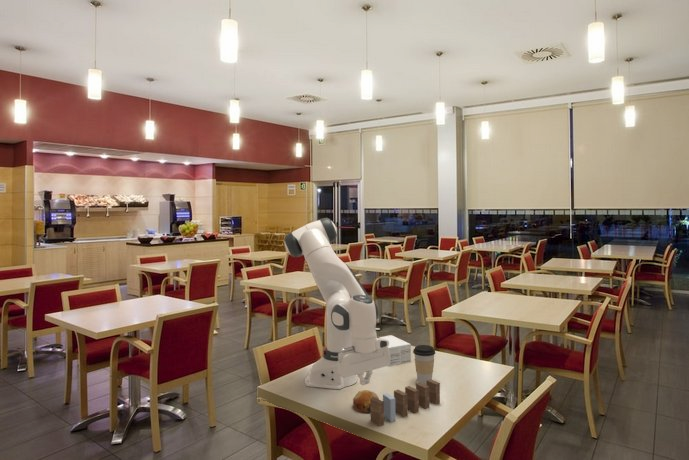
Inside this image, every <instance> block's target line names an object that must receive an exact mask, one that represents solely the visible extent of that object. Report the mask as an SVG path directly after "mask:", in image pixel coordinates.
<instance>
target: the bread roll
mask: <svg viewBox="0 0 689 460" xmlns="http://www.w3.org/2000/svg"><path fill="white" fill-rule="evenodd" d="M374 397H376V398H377V399H379V396H378V395H377V393H376V392H374V391H371V390H369V389H364V390H359V391H358V392H357V393H356V394H355V395H354V397H352V398H353V399H352V404H353V408H354V409H355V411H357V412H359V413H367V414H368V412H369V413H371V411H370V398H374ZM379 400H380V399H379Z"/></svg>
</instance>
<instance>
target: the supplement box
mask: <svg viewBox="0 0 689 460" xmlns="http://www.w3.org/2000/svg"><path fill="white" fill-rule="evenodd" d="M379 337H380V338H383V339H386V340H388V341H389V346H388V348H389V350H390V364H389V365H388V366H387V367H393V366H399V365H403V364H408V363H411V362H412V344H411V343H409V342H407V341H405V340H403V339H401V338H399V337H396V336H395V335H392V334H391V335H390V334H389V335H385V336H379Z"/></svg>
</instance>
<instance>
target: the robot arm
mask: <svg viewBox="0 0 689 460" xmlns="http://www.w3.org/2000/svg"><path fill="white" fill-rule="evenodd" d="M337 230H338V229H337V227H336V225H335V223H334V222H333V220H331V219H330V218H328V217H324V218H323V217H322V218H320V219H318V220H315V221H311V222H309V223H306V224H305V225H302V226H301V227H299V228H297V229H296V230H294V231H291V232H288V233H287V234H286V235H284V236H285V237H284V238H283V239H284V242H283V243H284V248H285V250H286V251H287V253H288V254H289V255H290V256H291V257H293V258H299V257H302V256H304V259H305V261H306V264H307V267H308V268H309V271H310V273H311V275H312V277H313V279H314V282H315V284H316V286H317V288H318V290H319V292H320V294H321V296H322V298H323V300H324V303H325V306H326V309H325V310H326V312H325V313H326V346H323V347H322V357H320V358H319V359H318V360H317V361H316V362H315V363H313V364H312V365H311V369H310V372H309V374H307V375H306V377H305V378H304V385H305V386H306V387H311V388H312V387H314V388H319V389H320V388H321V389H323V388H324V389H331V390H333V389H334V390H341V389H343V388H347V387H350V386H352V385H355V384H356V383H357V381H358V379H359V384H360V385H361V386H366V385H368V384H371V378H372V375H373V371H374V370H377V369H382V368H384V367H389V366H388V365H389V364H390V350H389V348H388V346H389V341H388V340H386V339H383V338H380V337H381V336H377V334H378V333H377V330H376V325H377V321H378V319H379V315H380V310H379V305H378V304H377V303H376V301H375V300H374V299H373V298H372V297H371V296H370V295H369V293H368V291H366V289H365V287H364V286H363V285H362V283H361V281H360V280H359V279H358V276H356V274H355V273H354V270H352V268H351V267H350V266H349V265H348V264H346V263H345V262H343V260H341V259H340V258H339V256H338V255H337V254H336V252H335V251H334V249H333V247H332V244H333V242H334V241H335V240H336V239H337V237H338V234H337V233H338V231H337ZM365 373H366V374H365ZM364 376H365V377H364ZM357 377H358V379H357Z"/></svg>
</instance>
